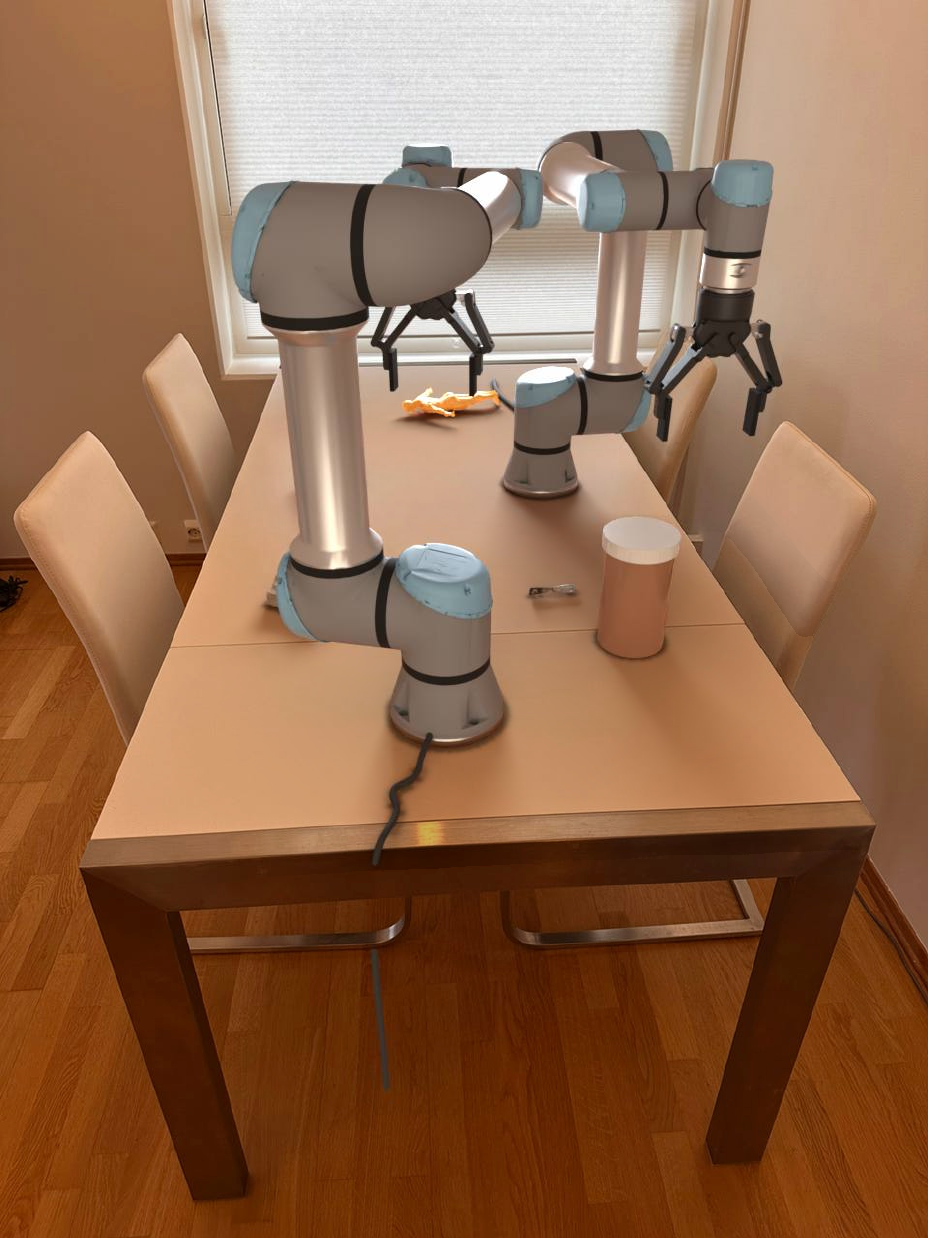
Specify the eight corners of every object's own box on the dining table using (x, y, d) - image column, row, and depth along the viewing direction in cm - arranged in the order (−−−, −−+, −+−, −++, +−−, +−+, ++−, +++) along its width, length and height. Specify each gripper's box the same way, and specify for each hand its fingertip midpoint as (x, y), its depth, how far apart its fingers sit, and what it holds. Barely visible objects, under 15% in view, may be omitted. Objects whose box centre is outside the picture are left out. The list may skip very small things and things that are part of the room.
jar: (584, 642, 135) (593, 537, 126) (619, 615, 142) (629, 514, 132) (641, 666, 130) (654, 558, 121) (674, 637, 136) (689, 533, 127)
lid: (586, 548, 127) (587, 535, 126) (627, 522, 134) (628, 509, 133) (654, 572, 121) (656, 558, 120) (693, 544, 128) (695, 530, 127)
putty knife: (576, 592, 148) (577, 584, 147) (529, 598, 146) (530, 589, 145) (574, 589, 149) (575, 581, 148) (528, 595, 147) (528, 586, 146)
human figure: (395, 413, 223) (394, 398, 221) (438, 390, 237) (438, 375, 235) (462, 429, 215) (462, 413, 213) (502, 404, 229) (503, 388, 227)
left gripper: (513, 255, 139) (510, 389, 150) (360, 249, 144) (368, 380, 155) (505, 264, 133) (502, 403, 144) (345, 258, 137) (355, 393, 149)
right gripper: (648, 297, 117) (633, 450, 128) (826, 289, 120) (795, 439, 132) (630, 284, 123) (617, 432, 135) (799, 278, 127) (772, 422, 138)
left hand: (433, 391), depth 149 cm, fingers open, 13 cm apart
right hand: (705, 436), depth 133 cm, fingers open, 13 cm apart
